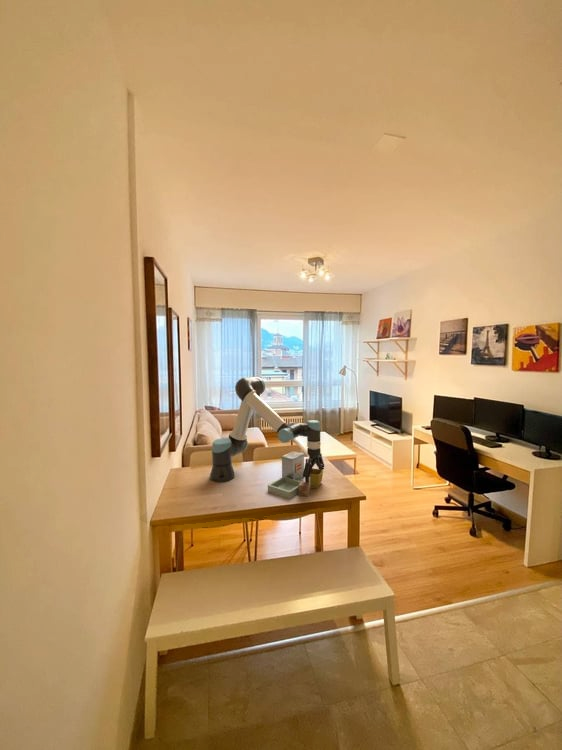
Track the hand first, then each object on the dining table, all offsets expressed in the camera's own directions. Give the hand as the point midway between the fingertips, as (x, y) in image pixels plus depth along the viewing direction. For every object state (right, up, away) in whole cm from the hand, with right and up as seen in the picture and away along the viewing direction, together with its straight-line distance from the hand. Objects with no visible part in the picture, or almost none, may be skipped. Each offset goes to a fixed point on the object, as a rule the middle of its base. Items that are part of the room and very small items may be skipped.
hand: (314, 484), depth 175 cm
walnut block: (-7, -2, -10) cm, 12 cm away
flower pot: (0, -2, 0) cm, 2 cm away
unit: (-12, -1, +11) cm, 16 cm away
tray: (-16, -2, -4) cm, 17 cm away
